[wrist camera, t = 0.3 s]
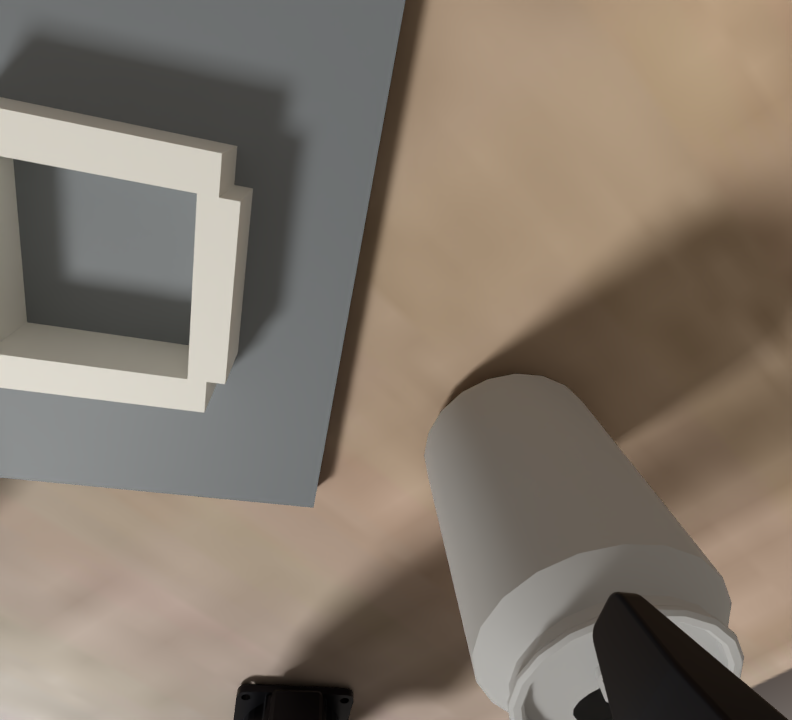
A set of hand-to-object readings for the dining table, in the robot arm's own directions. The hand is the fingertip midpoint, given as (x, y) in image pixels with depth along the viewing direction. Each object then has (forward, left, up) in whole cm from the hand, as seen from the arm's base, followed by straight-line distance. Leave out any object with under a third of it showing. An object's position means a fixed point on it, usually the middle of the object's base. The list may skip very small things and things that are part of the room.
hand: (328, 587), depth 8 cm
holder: (0, +7, -14) cm, 16 cm away
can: (-6, -9, -14) cm, 18 cm away
